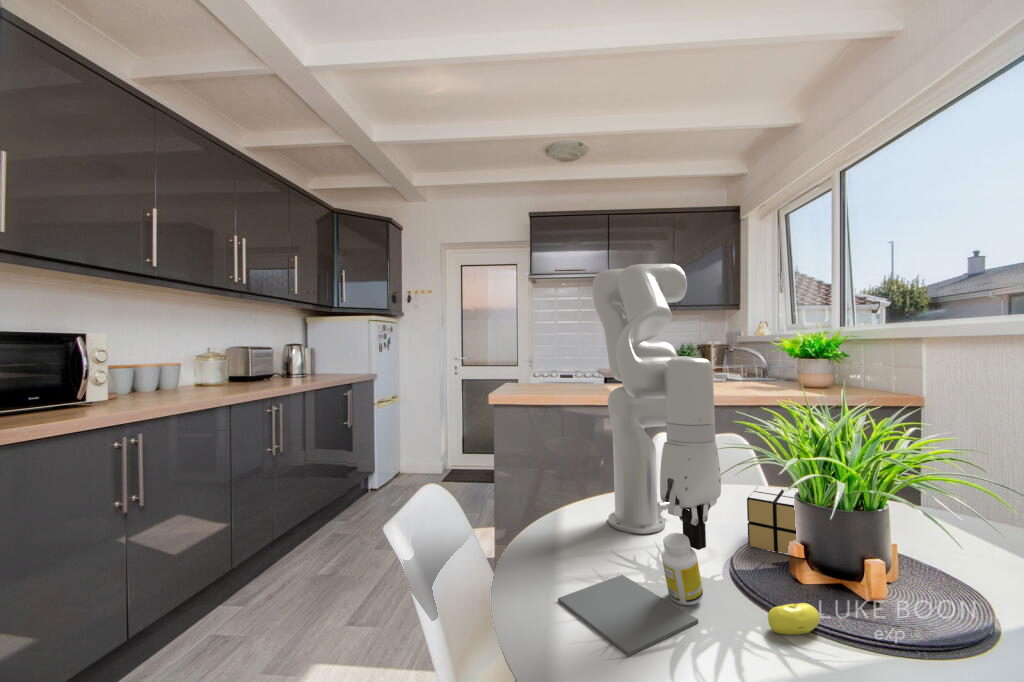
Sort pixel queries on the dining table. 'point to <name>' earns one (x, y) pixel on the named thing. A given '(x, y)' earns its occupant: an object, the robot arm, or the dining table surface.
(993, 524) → the dining table surface
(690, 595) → the supplement bottle
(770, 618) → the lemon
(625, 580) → the charcoal mat
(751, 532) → the puzzle cube
